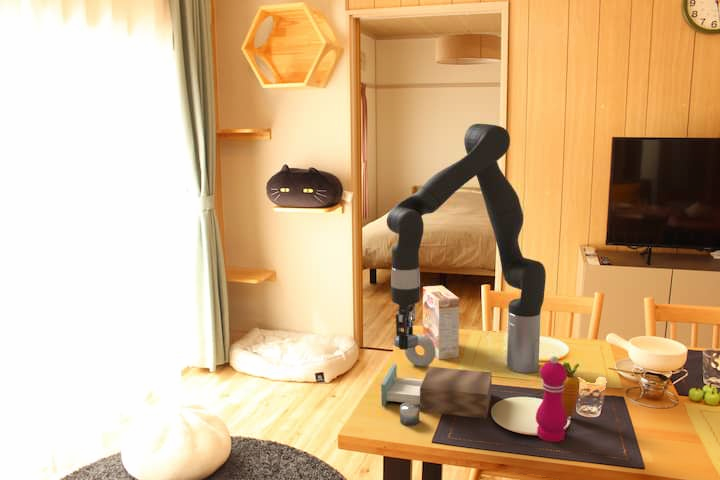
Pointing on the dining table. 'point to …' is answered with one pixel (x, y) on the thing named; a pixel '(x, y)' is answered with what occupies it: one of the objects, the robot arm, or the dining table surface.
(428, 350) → the donut
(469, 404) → the housing
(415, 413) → the shiny metal cylinder
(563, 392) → the carrot
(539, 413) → the pepper mill
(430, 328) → the coffeecake box
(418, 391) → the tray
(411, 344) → the grey domed disc
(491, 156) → the robot arm
